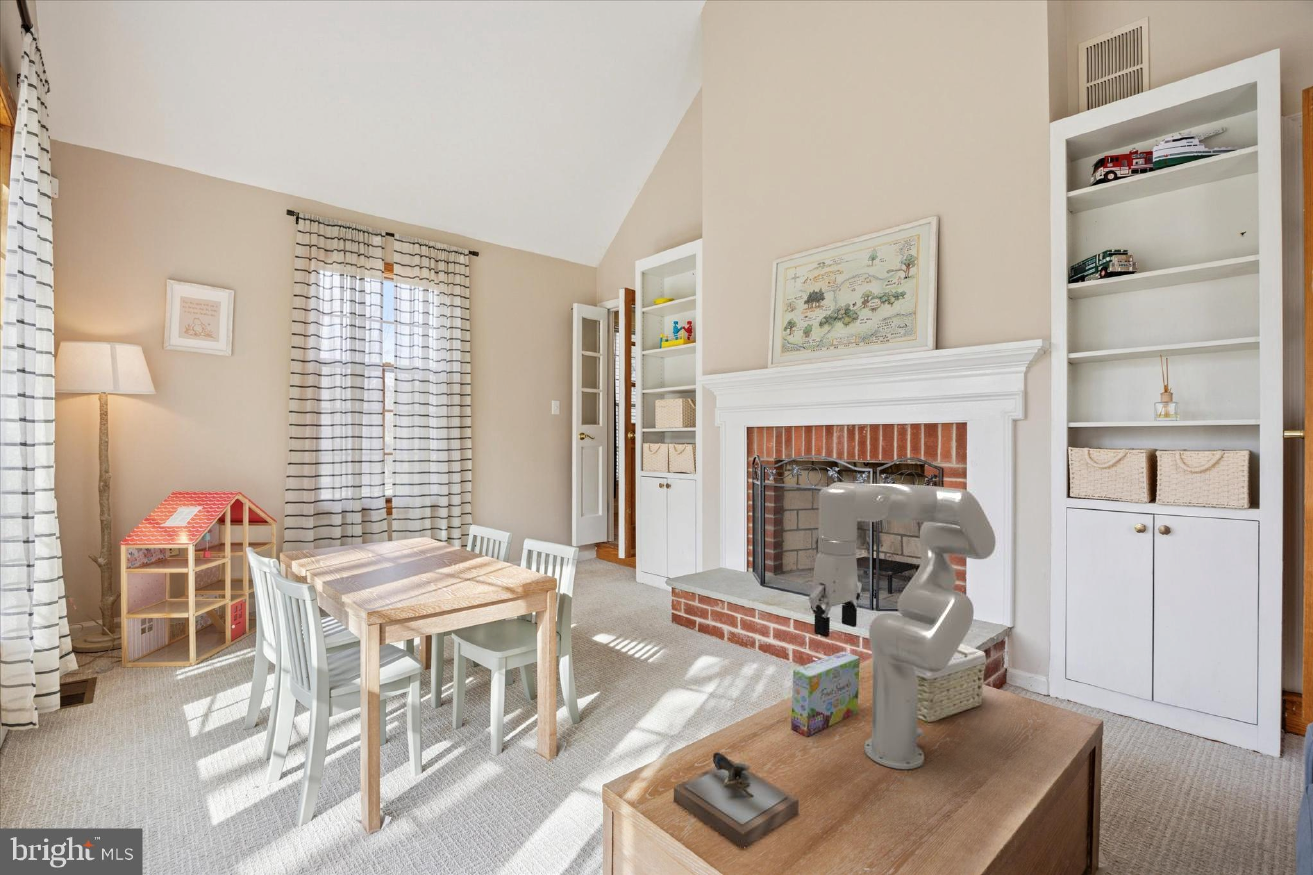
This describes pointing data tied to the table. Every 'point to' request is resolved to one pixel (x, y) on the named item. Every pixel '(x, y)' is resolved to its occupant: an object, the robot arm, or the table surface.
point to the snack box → (825, 693)
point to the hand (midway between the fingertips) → (835, 630)
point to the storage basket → (951, 686)
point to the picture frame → (736, 805)
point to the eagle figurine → (732, 772)
